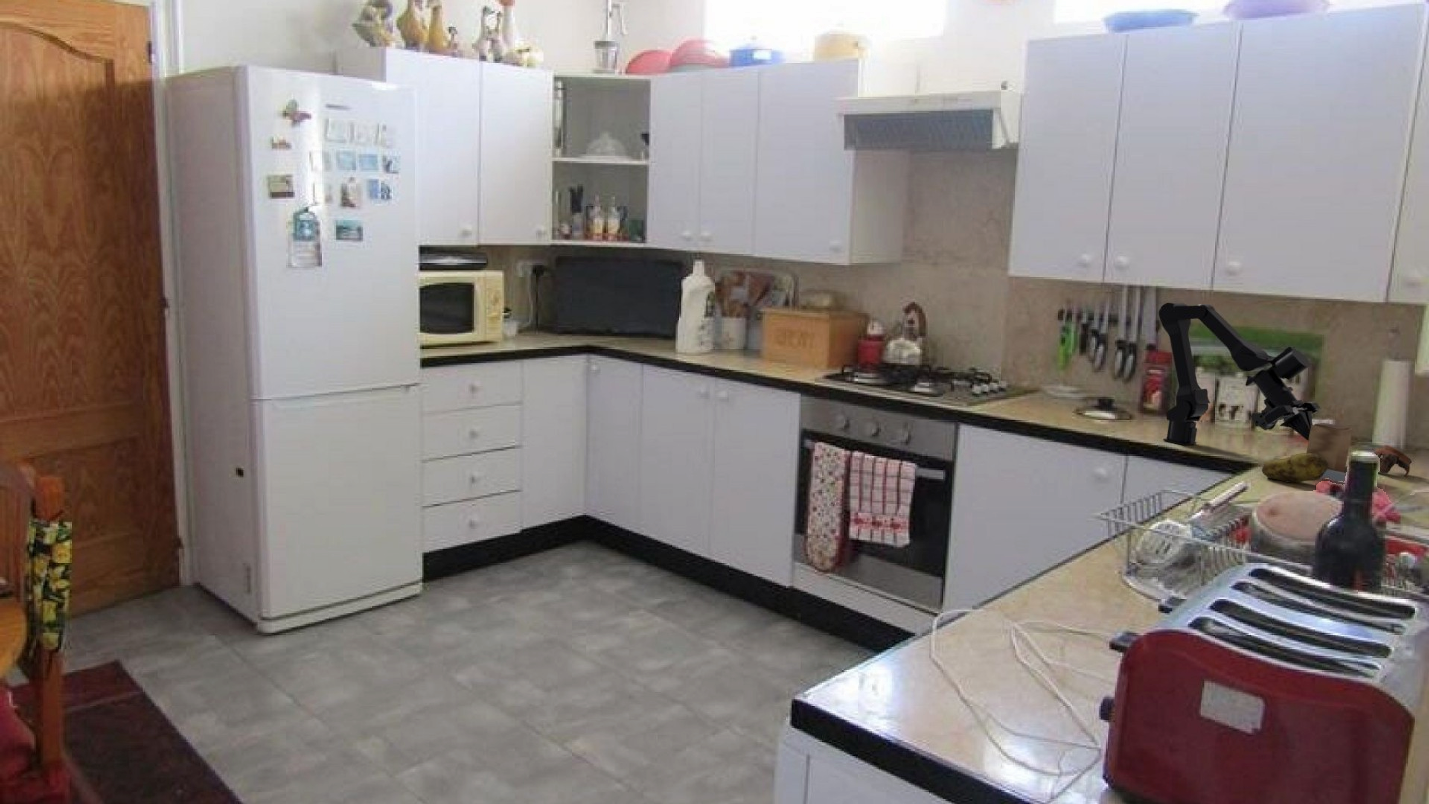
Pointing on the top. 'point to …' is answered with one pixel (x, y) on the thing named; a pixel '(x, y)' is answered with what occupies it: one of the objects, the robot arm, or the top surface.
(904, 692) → the top surface
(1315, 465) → the potato
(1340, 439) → the crate
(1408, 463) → the brown irregular pronged part
